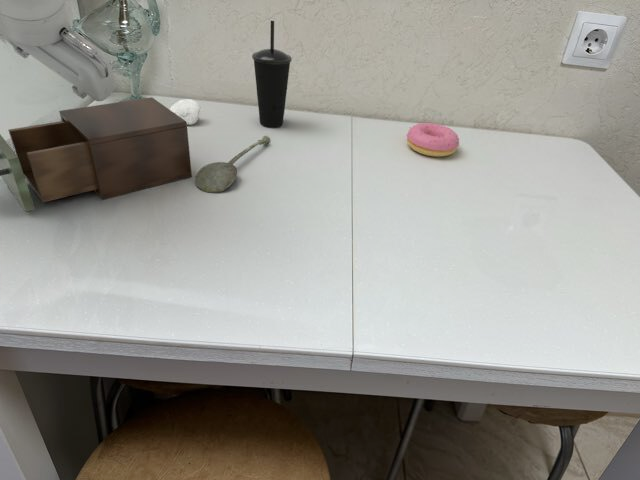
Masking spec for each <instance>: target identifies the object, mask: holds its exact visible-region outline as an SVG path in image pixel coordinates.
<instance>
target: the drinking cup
mask: <svg viewBox="0 0 640 480" xmlns="http://www.w3.org/2000/svg"><path fill="white" fill-rule="evenodd" d="M269 42H270V43H269V45H270V46H269V48H265V49H261V50H258V51H256V52H253V53H252V54H251V58H252V60H253V65H254V66H253V67H254V77H255V86H256V96H257V107H258V108H257V109H258V116H259V117H258V118H259V124H260V125H261V126H262V127H265V128H271V129H275V128H280V127H282V126H283V125H284V118H285V110H286V109H285V108H286V101H287V92H288V85H289V84H288V83H289V82H288V81H289V77H290V75H289V74H290V67H291V66H290V65H291V63H292V60H293V58H292V56H291V55H289V54H287V53H286V52H284V51H282V50H280V49H275V20H270V41H269Z"/></svg>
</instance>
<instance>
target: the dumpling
mask: <svg viewBox="0 0 640 480" xmlns="http://www.w3.org/2000/svg"><path fill="white" fill-rule="evenodd" d="M168 109H169V110H171V111H172V112H174V113H175V114H176V115H178V116H179V117H181V118H182V119H184V120H185V121H186V122H187V126H188V125H189V126H192V125H194V124H196V123H197V122H198V120H199V117H200V112H201V105H200V104H199V102H198V101H196V100H194V99H190V98H186V99H180V100H178V101H177V102H175V103H173V104H171V105H170V108H168Z"/></svg>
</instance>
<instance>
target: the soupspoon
mask: <svg viewBox="0 0 640 480" xmlns="http://www.w3.org/2000/svg"><path fill="white" fill-rule="evenodd" d="M271 141H272V139H271V137H270V136H269V135H264V136H262V138H261V139H258V140H257V141H256V142H254V143H252V144H251V145H249V146H248V147H247V148H245V149H243V150H242V151H241V152H239V153H238V154H236V155H235V156H234V157H232V158H231V159H230V160H229V161H228V162H225V161H217V162H211V163H208V164H206V165H204V166H202V167H201V168H200V169H199V170H198V171H197V173H196V175H195V177H194V178H195V179H194V181H195V184H196V187H197V188H198V189H199V190H201V191H202V192H206V193H212V194H213V193H220V192H223V191H225V190H227V189H228V188H229V187H230V186H232V184H233V183H234V182H235V180H236V179H237V177H238V168H237V166H236V165H234V164H235V163H236V162H237V161H238V160H239V159H240V158H242V157H243V156H244V155H246V154H247V153H248V152H250V151H251V150H252V149H254V148H256V147H257V146H261V145H270V144H271Z"/></svg>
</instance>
